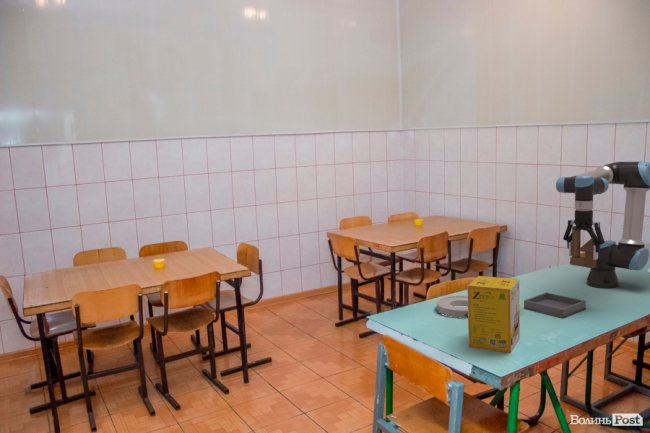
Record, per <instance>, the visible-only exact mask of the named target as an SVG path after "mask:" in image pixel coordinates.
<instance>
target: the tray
mask: <svg viewBox="0 0 650 433" xmlns="http://www.w3.org/2000/svg"><path fill="white" fill-rule="evenodd" d="M586 305H587V301H586V300H583V299H580V298H579V299H578V298H575V297H570V296H565V295H560V294H556V293H552V292H543V293H541V294H537V295H535V296H533V297H529V298H527V299H524V300H523V308H524V310H529V311H533V312H536V313H541V314H545V315H548V316H552V317H557V318H560V319H566V318H568V317H570V316H572V315H575V314H578V313H581V312H583V311H585V310H586Z"/></svg>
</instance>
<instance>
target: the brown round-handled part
mask: <svg viewBox="0 0 650 433" xmlns="http://www.w3.org/2000/svg"><path fill="white" fill-rule="evenodd" d="M575 227H576V225H573V227H572V229H571V233H572V241H571V242H572V256H569V264H570V265H571V266H575V267H582V268H588V269H590V268H595V267H596V260H593V245H595V243H594V237H592V238H590V239H589V240H588V241H587V242H585V243H584V244H582V246H581V242H582V241H581V240H582V239H581V238H582V236H581V235H582V230H579V229H577V230H576V231H575V230H574V228H575ZM581 252H583V253H585V254H584V257H581Z"/></svg>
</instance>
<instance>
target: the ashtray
mask: <svg viewBox="0 0 650 433" xmlns="http://www.w3.org/2000/svg"><path fill="white" fill-rule="evenodd" d="M455 306H467V307H455ZM437 310H439V311H438V314H439V313H441V314H444V315H447V316H452V317H451V318H453V317H461V318H460V319H465V318H466V317H468V295H450V296H446V297H442V298H439V299H438V300H437V301H436V311H437ZM441 314H440V315H441ZM444 315H443V316H444ZM447 316H446V317H447Z"/></svg>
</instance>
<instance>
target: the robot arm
mask: <svg viewBox="0 0 650 433" xmlns="http://www.w3.org/2000/svg"><path fill="white" fill-rule="evenodd" d="M609 185H623V189H624V190H625V192H626V193H625V194H626V195H625V202H624V203H625V205H624V217H623V226H622V236H621V237H622V238H621V239H620V240H619V241H618V243H616V241H615V240H605V238H604V235H603V233H602V230H601V222H599V221H597V222H596V221H594V219H593V218H594V210H593V209H594V196H595V195H602V194H604V193H606V192H607V191H608V189H609ZM555 189H556V191H557V192H558V193H562V194H574V209H575V210H574V219H569V220H567V225H566V229H565V232H564V235H563V238H562V240H563V241H566V245H567V246H566V248H567V249H568V257H572V227H573V226H576V227H575V228H574V230H575V231H576V230H577V229H579V230H581V231H585V232H587V233H588V235H589V236H590V237H591V238H592V237H594V243H595V245H593V260H596V267H595V268H589V269H590V270H589V273H588V275H587V278H586V284H587V285H588V286H590V287H593V288H599V289H611V288H612V289H613V288H617V287H619V286H620V285H619V283H620V282H619V281H620V280H619V278H618V275H617V272H616V268H618V269H619V268H620V269H625V270H629V271H642V270H643V269H644V268H645V266H646V265H647V263H648V261H649V256H650V252H649V249H648V248H647V247H646V246H645V242H644V241H643V240H642V239H643V229H644V220H645V219H644V218H645V209H646V199H647V198H646V197H647V192H649V191H650V162H649V161H642V160H641V161H615V162H612V163H607V164H604V165H601V166H598V167H597V168H596V169H594V170H590V171H587V172H584V173H580V174H576V175H573V176H569V177H568V176H567V177H566V176H564V177H563V176H562V177H558V178H557V180H556V183H555ZM593 227H594V229H593ZM591 238H590V239H591Z"/></svg>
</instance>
